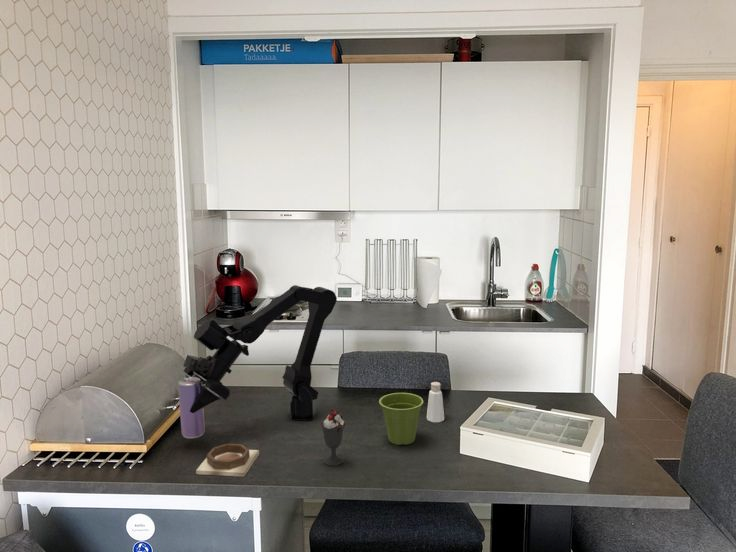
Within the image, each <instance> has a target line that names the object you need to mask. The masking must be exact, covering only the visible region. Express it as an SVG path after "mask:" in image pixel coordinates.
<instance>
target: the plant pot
mask: <svg viewBox="0 0 736 552" xmlns="http://www.w3.org/2000/svg"><path fill="white" fill-rule="evenodd" d="M378 403H379V405H380V407H381V409H382V413H383V417H384V422H385V428H386V433H387V438H388V441H389V442H390V443H392V444H393V445H397V446H400V445H405V446H406V445H410V444H412V443H414V442H415V440H416V436H417V430H418V423H419V422H418V421H419V417H420V411H421V409H422V408H421V407H422V405H423V404H424V400H423V398H422V397H421V396H419V395H418V394H414V393H409V392H394V393H389V394H386V395H383V396H381V397H380V398H379V400H378Z"/></svg>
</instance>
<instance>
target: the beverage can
mask: <svg viewBox="0 0 736 552" xmlns="http://www.w3.org/2000/svg"><path fill="white" fill-rule="evenodd" d="M200 385H202V383H201V380H200V378H196V377H190V378H186V377H184V378H181V379H179V381H178V385H177V389H178V390H177V391H178V403H179V415H180V417H179V418H180V429H181V435H182V436H183V438H185V439H197V438H199V437H202V436H203V435H204V433H205V432H206V426H205V413H204V412H205V411H204V407H203V408H201V409H200V410H198V411H196V412H194V413H191V412H190V409H191V407H192V405H193V404H194V402H195V400H196V399H197V397H198V396H199V394H200ZM202 386H203V385H202Z"/></svg>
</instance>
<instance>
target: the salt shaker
mask: <svg viewBox="0 0 736 552" xmlns="http://www.w3.org/2000/svg"><path fill="white" fill-rule="evenodd" d="M430 388H431V389H430V390H429V393H428V400H427V401H428V402H427V411H426V420H427V421H428V422H431V423H441V422H444V420H445V413H444V399H443V392H442V390H441V383H440V382H438V381H433V382H431V383H430Z"/></svg>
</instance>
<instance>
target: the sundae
mask: <svg viewBox="0 0 736 552" xmlns="http://www.w3.org/2000/svg"><path fill="white" fill-rule="evenodd" d="M343 417H344V416H343V414H342V413H340V411H337V410H336V411H335V410H333V407H331V408H330V410H329V413H328V415H327V416H326V418H325V419H323V420H322V421H321V422H320V423H319V426H320V427H321V428H322V432H323V437H324V438H323V439H324V443H325V445H326V446H327V447H328V448H329V449H330V450H331V451H330V456H328V457H325V458H324V459H323V463H324V464H325V465H327V466H333V467H334V466H340V465H342V463H344V458H342V457H341V456H338V455H337V448H339V447H340V446H341V444H342V439H343V433H344V428H346V426H347V421H346V420H345V419H343Z"/></svg>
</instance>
